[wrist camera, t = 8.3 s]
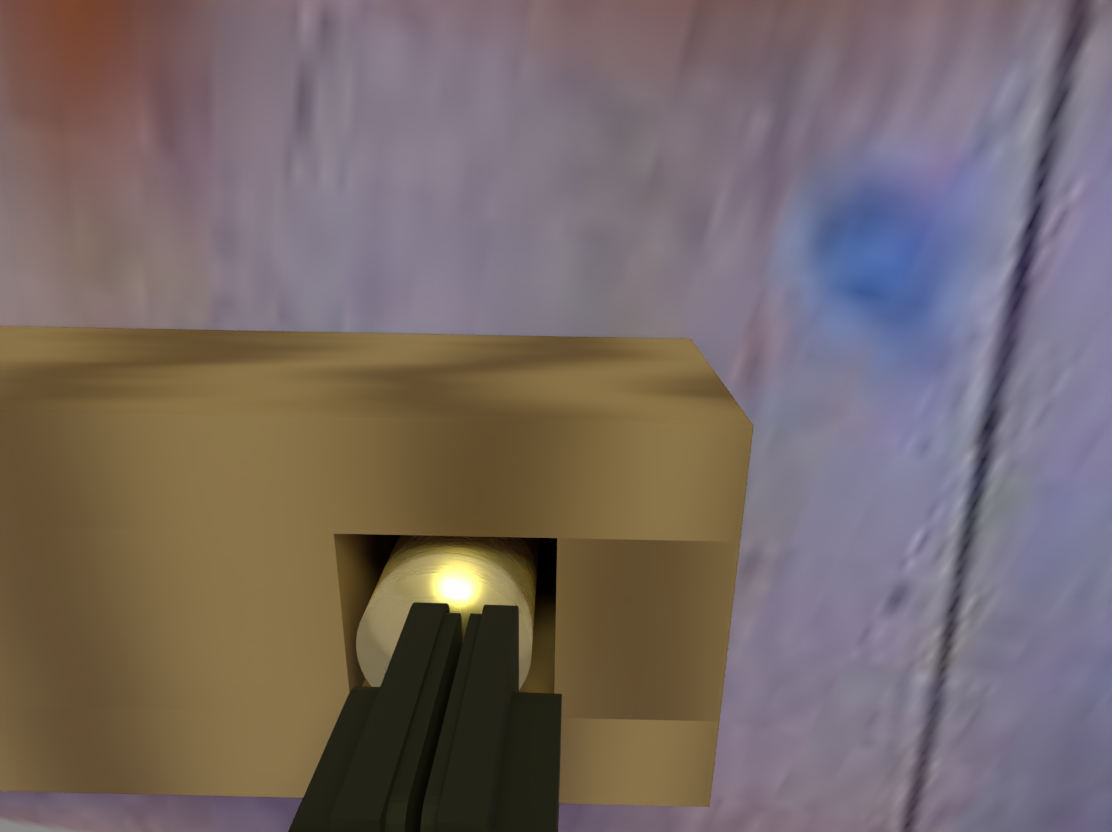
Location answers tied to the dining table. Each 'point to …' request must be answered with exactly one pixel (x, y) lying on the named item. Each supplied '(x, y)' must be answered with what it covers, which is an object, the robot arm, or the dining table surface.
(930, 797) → the dining table surface
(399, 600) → the inner brass pin
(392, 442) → the tan peg holder block
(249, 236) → the dining table surface
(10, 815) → the dining table surface
